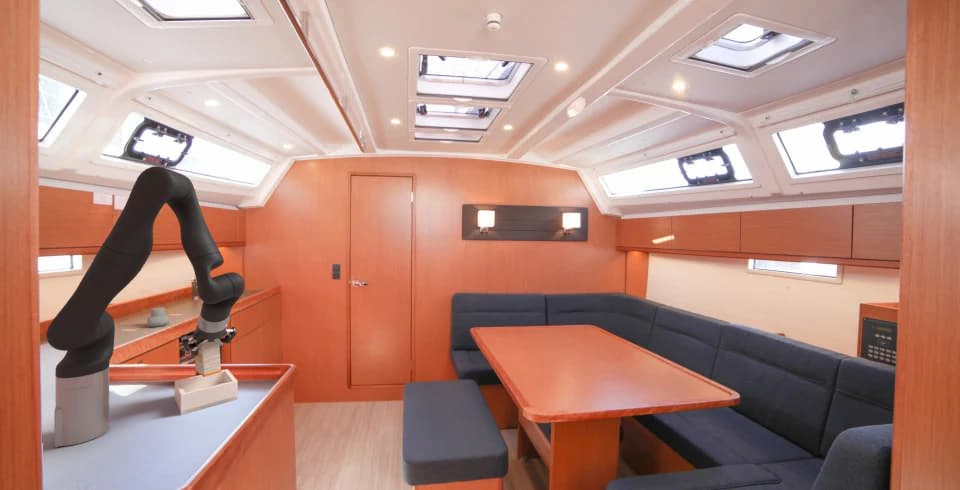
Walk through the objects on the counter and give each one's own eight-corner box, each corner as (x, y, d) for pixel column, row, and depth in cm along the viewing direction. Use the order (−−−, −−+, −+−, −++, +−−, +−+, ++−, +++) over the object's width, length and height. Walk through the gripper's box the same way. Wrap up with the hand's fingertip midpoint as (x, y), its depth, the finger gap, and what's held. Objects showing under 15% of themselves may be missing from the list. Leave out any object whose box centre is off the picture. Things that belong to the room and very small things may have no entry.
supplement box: (221, 372, 111) (219, 332, 110) (203, 377, 107) (200, 336, 106) (213, 366, 116) (210, 328, 115) (195, 371, 112) (192, 332, 111)
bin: (180, 415, 101) (181, 395, 101) (174, 399, 111) (174, 380, 110) (237, 399, 112) (237, 381, 111) (227, 385, 121) (227, 369, 121)
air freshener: (169, 326, 193) (169, 308, 193) (149, 329, 187) (149, 311, 187) (166, 322, 200) (166, 305, 200) (147, 325, 194) (147, 307, 194)
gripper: (239, 308, 111) (230, 337, 119) (180, 315, 100) (175, 346, 108) (243, 327, 107) (234, 355, 116) (183, 336, 97) (178, 367, 105)
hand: (205, 351), depth 112 cm, fingers closed on supplement box, 5 cm apart
